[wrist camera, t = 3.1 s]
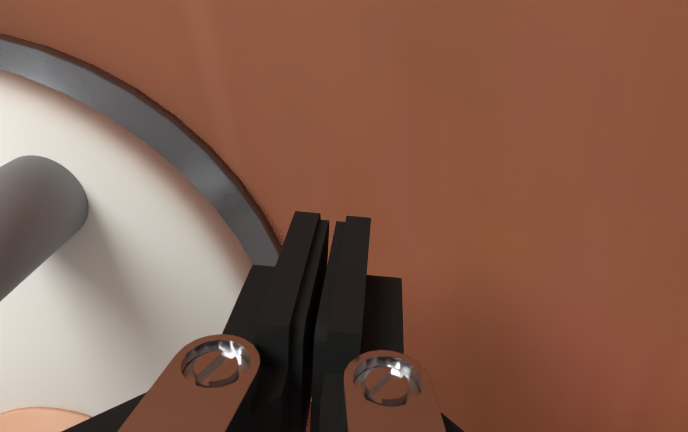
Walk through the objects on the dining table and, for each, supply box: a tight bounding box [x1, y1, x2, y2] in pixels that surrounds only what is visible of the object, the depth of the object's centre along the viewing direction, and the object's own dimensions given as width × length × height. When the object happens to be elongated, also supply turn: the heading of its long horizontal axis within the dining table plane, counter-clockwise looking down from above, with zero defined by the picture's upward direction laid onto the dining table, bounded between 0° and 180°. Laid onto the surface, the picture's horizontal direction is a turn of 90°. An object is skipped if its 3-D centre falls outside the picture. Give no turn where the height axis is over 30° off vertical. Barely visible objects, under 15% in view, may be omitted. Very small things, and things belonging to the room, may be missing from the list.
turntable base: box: [0, 34, 312, 401], centre depth 20 cm, size 24×21×2 cm
